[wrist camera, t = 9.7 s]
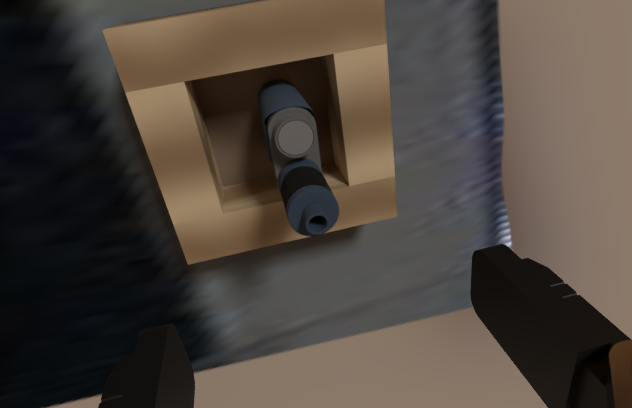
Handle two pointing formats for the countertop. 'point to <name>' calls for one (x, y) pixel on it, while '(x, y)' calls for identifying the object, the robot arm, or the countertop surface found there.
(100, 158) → the countertop surface
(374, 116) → the block
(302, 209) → the vaping device
